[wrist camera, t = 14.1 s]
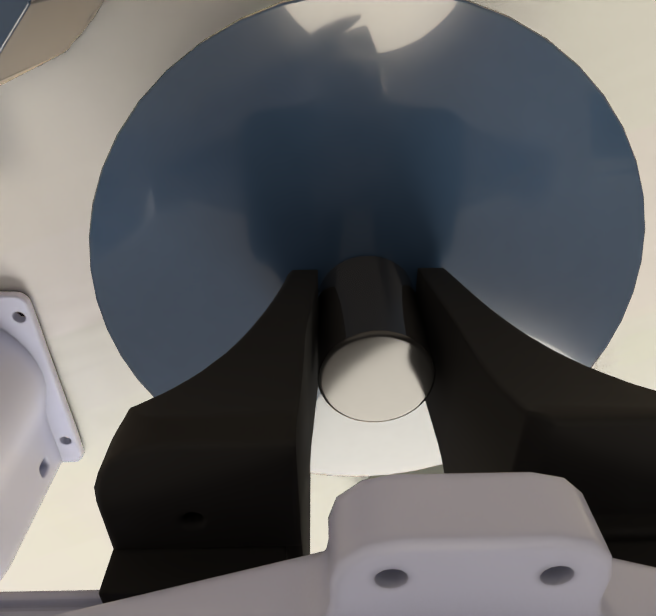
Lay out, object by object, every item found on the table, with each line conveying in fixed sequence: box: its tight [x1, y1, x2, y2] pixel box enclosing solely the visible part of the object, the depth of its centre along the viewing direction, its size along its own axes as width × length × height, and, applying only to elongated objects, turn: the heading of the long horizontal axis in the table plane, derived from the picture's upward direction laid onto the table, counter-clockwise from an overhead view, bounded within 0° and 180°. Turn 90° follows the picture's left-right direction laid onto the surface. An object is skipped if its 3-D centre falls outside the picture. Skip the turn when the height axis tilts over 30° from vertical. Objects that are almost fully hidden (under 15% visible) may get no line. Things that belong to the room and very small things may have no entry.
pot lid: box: [89, 0, 645, 477], centre depth 13 cm, size 13×13×4 cm
